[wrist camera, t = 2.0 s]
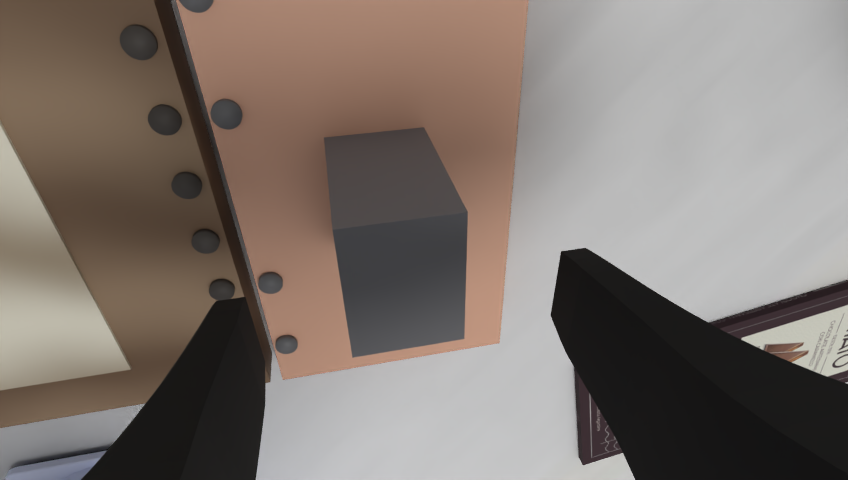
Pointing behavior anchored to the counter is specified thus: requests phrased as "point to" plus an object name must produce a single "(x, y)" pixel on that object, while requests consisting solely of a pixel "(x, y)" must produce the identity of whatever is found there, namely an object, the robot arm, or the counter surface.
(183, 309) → the board
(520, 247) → the counter surface
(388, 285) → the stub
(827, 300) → the chocolate bar
